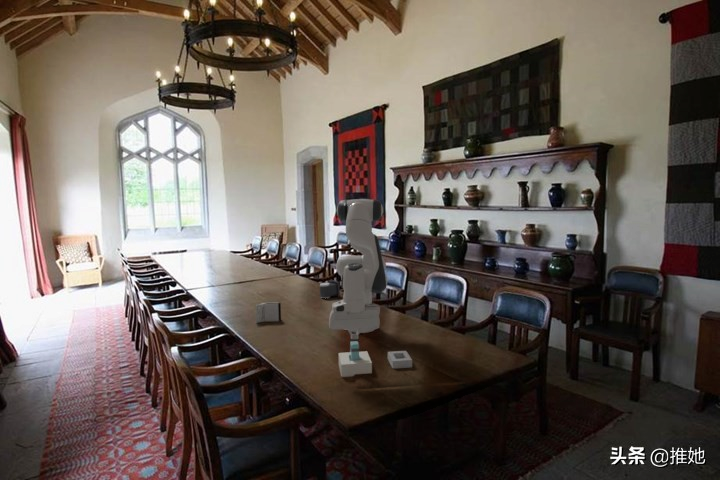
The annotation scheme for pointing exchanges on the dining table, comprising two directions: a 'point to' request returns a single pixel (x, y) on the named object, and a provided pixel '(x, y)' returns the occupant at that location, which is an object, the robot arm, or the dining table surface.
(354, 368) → the port block
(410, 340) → the dining table surface
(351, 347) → the plug
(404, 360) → the holster
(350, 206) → the robot arm
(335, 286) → the dark grey block
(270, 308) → the hinge
